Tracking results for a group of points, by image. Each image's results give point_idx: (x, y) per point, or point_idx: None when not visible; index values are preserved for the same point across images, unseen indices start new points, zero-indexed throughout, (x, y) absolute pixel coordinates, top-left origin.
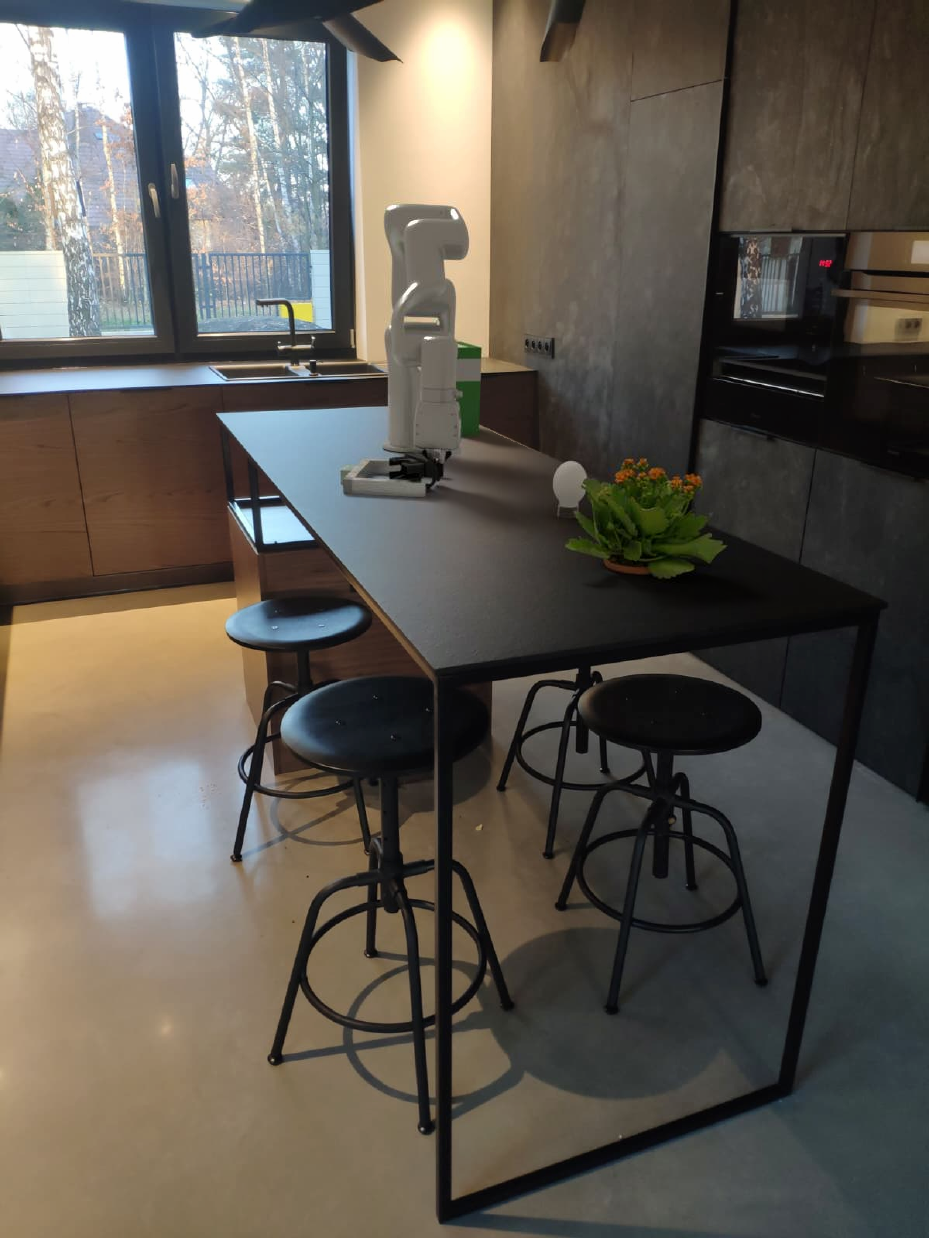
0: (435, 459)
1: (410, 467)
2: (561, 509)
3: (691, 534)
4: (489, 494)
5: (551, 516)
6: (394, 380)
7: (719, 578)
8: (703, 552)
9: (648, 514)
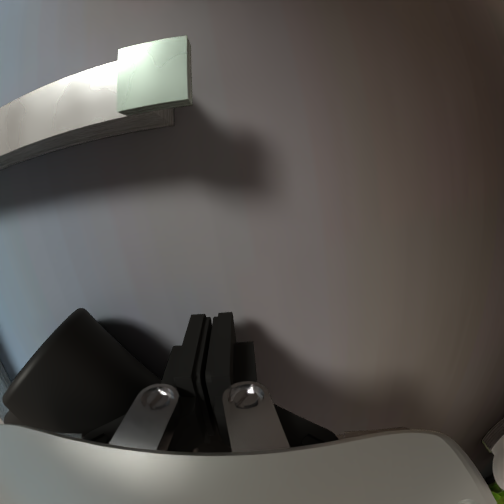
0: (198, 428)
1: None
2: (488, 450)
3: (501, 493)
4: (426, 377)
5: (475, 443)
6: None
7: (493, 479)
8: None
9: None
